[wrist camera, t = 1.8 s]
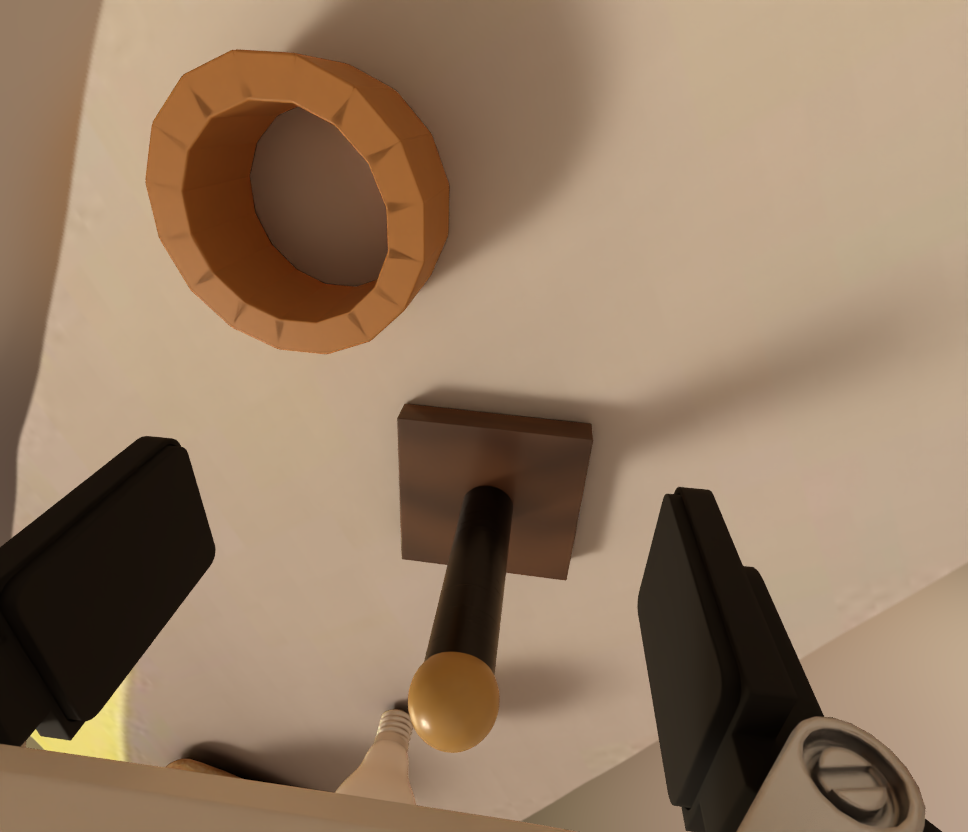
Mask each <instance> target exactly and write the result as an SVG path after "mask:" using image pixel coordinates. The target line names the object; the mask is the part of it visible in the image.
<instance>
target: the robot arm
mask: <svg viewBox="0 0 968 832" xmlns="http://www.w3.org/2000/svg"><path fill="white" fill-rule="evenodd" d="M214 556H215V544H214V541H213V537H212V534H211V530H210V527H209V524H208V520H207V517H206V513H205V510H204V507H203V503H202V500H201V496H200V493H199V489H198V486H197V483H196V479H195V476H194V472H193V469H192V465H191V462H190V459H189V455H188V452H187V450H186V449H185V448H183V447H181V445H180V443H179V442H178V441H177V440H175V439H172V438H161V437H151V436H144V437H141V438H139V439H137V440H136V441H135V442H134V443H132V444H131V445H130V446H128V447H127V448H126V449H125V450H123V451H122V452H121V453H120V454H118V455H117V456H116V457H114V458H113V459H112V460H111V461H109V462H108V463H107V464H106V465H104V466H103V467H102V468H100V469H99V470H98V471H97V472H95V473H94V474H93V475H92V476H90V477H89V478H88V479H86V480H85V481H84V482H83V483H81V484H80V485H79V486H78V487H76V488H75V489H74V490H72V491H71V492H70V493H69V494H67V495H66V496H65V497H64V498H62V499H61V500H60V501H58V502H57V503H56V504H55V505H53V506H52V507H51V508H50V509H48V510H47V511H46V512H45V513H43V514H42V515H41V516H39V517H38V518H37V519H36V520H34V521H33V522H32V523H31V524H29V525H28V526H27V527H25V528H24V529H23V530H22V531H20V532H19V533H18V534H17V535H15V536H14V537H13V538H11V539H10V540H9V541H8V542H6V543H5V544H4V545H3V546H1V547H0V832H578V831H572V830H566V829H560V828H555V827H549V826H543V825H538V824H532V823H526V822H520V821H515V820H508V819H502V818H495V817H489V816H482V815H476V814H469V813H463V812H456V811H450V810H443V809H437V808H430V807H424V806H418V805H411V804H405V803H398V802H392V801H385V800H379V799H372V798H366V797H359V796H353V795H346V794H340V793H333V792H326V791H320V790H313V789H306V788H299V787H293V786H286V785H279V784H273V783H266V782H259V781H253V780H246V779H239V778H232V777H226V776H219V775H212V774H205V773H199V772H192V771H185V770H178V769H172V768H165V767H158V766H151V765H144V764H137V763H130V762H123V761H116V760H109V759H102V758H95V757H88V756H81V755H74V754H67V753H60V752H53V751H46V750H39V749H32V748H26V740H27V739H28V737H29V736H30V735H31V734H32V733H33V731H34V730H35V729H36V730H37V731H38V733H39V734H40V736H44V737H51V738H57V739H64V740H72V738H73V737H74V736H75V734H76V733H77V732H78V730H79V729H80V728H81V727H82V725H83V724H84V723H85V721H88V720H91V719H92V718H94V717H95V716H96V715H97V714H98V713H99V712H100V711H101V709H102V708H103V707H104V705H105V704H106V703H107V701H108V700H109V699H110V697H111V696H112V695H113V693H114V692H115V691H116V690H117V688H118V687H119V686H120V684H121V683H122V682H123V680H124V679H125V678H126V676H127V675H128V674H129V672H130V671H131V670H132V668H133V667H134V666H135V664H136V663H137V662H138V660H139V659H140V658H141V657H142V655H143V654H144V653H145V651H146V650H147V649H148V647H149V646H150V645H151V643H152V642H153V641H154V639H155V638H156V637H157V635H158V634H159V633H160V631H161V630H162V629H163V627H164V626H165V625H166V624H167V622H168V621H169V620H170V618H171V617H172V616H173V614H174V613H175V612H176V610H177V609H178V608H179V606H180V605H181V604H182V602H183V601H184V600H185V598H186V597H187V596H188V594H189V593H190V592H191V590H192V589H193V588H194V587H195V585H196V584H197V583H198V581H199V580H200V579H201V577H202V576H203V575H204V573H205V572H206V571H207V569H208V568H209V567H210V565H211V564H212V562H213V559H214ZM638 616H639V622H640V628H641V634H642V640H643V646H644V652H645V658H646V664H647V670H648V676H649V682H650V688H651V694H652V700H653V706H654V712H655V718H656V724H657V730H658V736H659V742H660V748H661V754H662V759H663V766H664V772H665V778H666V784H667V790H668V795H669V799H670V802H671V803H672V805H674V806H681V807H682V812H683V817H684V822H685V828H686V831H691V832H942V831H940V830H939V829H938V828H936V827H935V826H934V825H933V824H931V823H930V822H929V821H928V820H926V819H925V805H924V802H923V799H922V795H921V792H920V790H919V787H918V785H917V784H916V782H915V781H914V779H913V777H912V775H911V774H910V772H909V771H908V769H907V768H906V766H905V765H904V764H903V763H902V762H901V761H900V760H899V759H898V757H897V756H896V755H895V754H894V753H893V752H892V751H891V750H890V749H889V748H888V747H887V746H885V745H884V744H883V743H882V742H880V741H879V740H878V739H876V738H875V737H874V736H873V735H871V734H870V733H868V732H866V731H864V730H862V729H861V728H859V727H857V726H855V725H853V724H851V723H848V722H845V721H842V720H839V719H836V718H833V717H824V715H823V713H822V711H821V708H820V706H819V704H818V702H817V700H816V697H815V695H814V693H813V691H812V689H811V686H810V684H809V682H808V679H807V677H806V675H805V673H804V670H803V668H802V666H801V664H800V661H799V659H798V657H797V655H796V652H795V650H794V648H793V646H792V643H791V641H790V639H789V637H788V635H787V632H786V630H785V628H784V626H783V623H782V621H781V619H780V617H779V614H778V612H777V610H776V608H775V605H774V603H773V601H772V599H771V596H770V594H769V592H768V590H767V587H766V585H765V583H764V581H763V579H762V577H761V575H760V573H759V572H758V571H757V570H756V569H755V568H754V567H746V566H743V565H742V563H741V560H740V558H739V555H738V553H737V551H736V548H735V546H734V543H733V541H732V538H731V536H730V534H729V531H728V529H727V526H726V524H725V522H724V519H723V517H722V514H721V512H720V510H719V507H718V505H717V502H716V500H715V498H714V495H713V493H712V492H711V491H710V490H705V489H694V488H684V487H678V488H677V489H676V490H675V492H674V494H665V496H664V498H663V502H662V506H661V509H660V513H659V517H658V521H657V525H656V529H655V533H654V537H653V540H652V544H651V548H650V552H649V556H648V560H647V564H646V568H645V571H644V575H643V579H642V583H641V587H640V591H639V595H638Z"/></svg>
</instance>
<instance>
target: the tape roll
mask: <svg viewBox="0 0 968 832" xmlns="http://www.w3.org/2000/svg"><path fill="white" fill-rule="evenodd" d="M297 106H299V107H301V108H303V109H305V110H306V111H308V112H310V113H312V114H314V115H316V116H318V117H320V118H321V119H323V120H325V121H327V122H329V123H331V124H333V125H334V126H336V127H337V128H338V130H339V131H340V132H341V133H342V134H343V135H344V136H345V138H346V139H347V140H348V141H349V142H350V143H351V144H352V146H353V147H354V148H355V149H356V150H357V151H358V152H359V154H360V155H361V156H362V157H363V158H364V159H365V160H366V162H367V163H368V164H369V167H370V169H371V172H372V174H373V176H374V179H375V181H376V184H377V186H378V189H379V191H380V194H381V196H382V199H383V201H384V204H385V206H386V213H387V241H388V253H387V255H386V258H385V261H384V263H383V266H382V269H381V271H380V274H379V277H378V279H377V280H375V281H372V282H369V283H366V284H363V285H360V286H357V287H353V286H343V285H332V284H325V283H323V282H321V281H319V280H317V279H315V278H313V277H311V276H309V275H307V274H305V273H303V272H301V271H299V270H297V269H296V268H295V267H294V266H293V265H292V264H291V263H290V262H289V261H288V260H287V259H286V258H285V257H284V256H283V255H282V254H281V253H280V252H279V251H278V250H277V249H276V248H275V247H274V246H273V245H272V244H271V243H270V241H269V239H268V237H267V235H266V233H265V231H264V229H263V227H262V225H261V223H260V221H259V219H258V217H257V215H256V213H255V208H254V202H253V195H252V189H251V182H250V171H251V167H252V162H253V158H254V153H255V148H256V144H257V142H258V140H259V139H260V138H261V136H262V135H263V134H264V132H265V131H266V130H267V128H268V127H269V126H270V124H271V123H272V122H273V120H274V119H275V118H276V117H277V115H280V114H282V113H284V112H286V111H289V110H291V109H293V108H295V107H297ZM145 183H146V187H147V191H148V195H149V199H150V203H151V207H152V211H153V215H154V219H155V223H156V227H157V231H158V235H159V238H160V240H161V242H162V244H163V245H164V247H165V249H166V250H167V252H168V254H169V255H170V257H171V259H172V260H173V262H174V263H175V265H176V267H177V268H178V270H179V272H180V273H181V275H182V277H183V278H184V280H185V282H186V283H187V285H188V287H189V288H190V290H191V291H192V292H193V293H194V294H195V295H197V296H198V297H199V298H200V299H201V300H202V301H203V302H204V303H205V304H206V305H208V306H209V307H210V308H211V309H212V310H213V311H214V312H215V313H216V314H217V315H218V316H220V317H221V318H222V319H223V320H224V321H225V322H226V323H227V324H228V325H229V326H231V327H233V328H234V329H236V330H239V331H241V332H243V333H245V334H247V335H249V336H251V337H253V338H256V339H258V340H260V341H262V342H264V343H266V344H268V345H270V346H272V347H275V348H277V349H280V350H290V351H300V352H309V353H319V354H330V353H333V352H336V351H339V350H343V349H346V348H349V347H353V346H356V345H359V344H363V343H366V342H369V341H371V340H372V339H373V338H375V337H376V336H377V335H378V334H379V333H380V332H381V331H382V330H383V329H384V328H386V327H387V326H388V325H389V324H390V323H391V322H392V321H393V320H394V319H396V318H397V317H398V316H399V315H400V314H401V313H402V312H403V311H404V310H405V309H406V308H407V306H408V305H409V304H410V302H411V301H412V300H413V298H414V297H415V296H416V294H417V293H418V292H419V290H420V289H421V288H422V286H423V285H424V284H425V282H426V281H427V280H428V278H429V277H430V276H431V274H432V272H433V269H434V267H435V265H436V263H437V260H438V258H439V256H440V253H441V251H442V249H443V246H444V244H445V242H446V239H447V237H448V229H449V183H448V180H447V177H446V174H445V171H444V168H443V165H442V162H441V160H440V157H439V154H438V151H437V148H436V145H435V142H434V139H433V137H432V134H431V133H430V131H429V130H428V129H427V128H426V126H425V125H424V124H423V123H422V122H421V120H420V119H419V118H418V117H417V115H416V114H415V113H414V112H413V111H412V109H411V108H410V107H409V106H408V104H407V103H406V102H405V101H404V100H403V98H402V97H401V96H400V95H399V93H398V92H397V91H395V90H394V89H393V88H391V87H389V86H387V85H386V84H384V83H382V82H380V81H378V80H377V79H375V78H373V77H371V76H369V75H368V74H366V73H364V72H362V71H360V70H359V69H357V68H355V67H353V66H351V65H349V64H346V63H341V62H336V61H331V60H326V59H322V58H317V57H312V56H307V55H302V54H297V53H288V52H271V51H254V50H237V49H236V50H231V51H229V52H227V53H225V54H223V55H221V56H219V57H217V58H215V59H213V60H211V61H209V62H207V63H205V64H203V65H201V66H199V67H197V68H195V69H193V70H191V71H189V72H187V73H185V74H184V75H183V76H182V77H181V78H180V80H179V82H178V83H177V85H176V86H175V88H174V89H173V91H172V92H171V94H170V96H169V97H168V99H167V100H166V102H165V103H164V105H163V107H162V108H161V110H160V111H159V113H158V114H157V116H156V118H155V119H154V121H153V124H152V128H151V137H150V145H149V154H148V163H147V171H146V182H145Z"/></svg>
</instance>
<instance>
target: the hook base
mask: <svg viewBox="0 0 968 832" xmlns="http://www.w3.org/2000/svg"><path fill="white" fill-rule="evenodd" d="M397 425H398V457H399V488H400V520H401V551H402V559H406V560H414V561H422V562H429V563H437V564H444V565H448V561H449V557H450V553H451V549H452V545H453V540H454V536H455V532H456V528H457V524H458V520H459V516H460V511H461V507H462V503H463V499H464V497H465V495H466V494H467V493H468V492H469V491H470V490H471V489H473V488H475V487H479V486H493V487H496V488H499V489H501V490H503V491H504V492H505V493H506V494H507V495H508V496H509V497H510V499H511V501H512V503H513V514H512V523H511V532H510V541H509V550H508V559H507V568H506V573H513V574H521V575H528V576H536V577H544V578H551V579H559V580H567V575H568V569H569V564H570V559H571V554H572V548H573V543H574V538H575V533H576V527H577V522H578V517H579V512H580V506H581V501H582V496H583V491H584V485H585V480H586V475H587V470H588V464H589V459H590V454H591V449H592V443H593V434H592V425H591V424H588V423H578V422H569V421H560V420H551V419H542V418H532V417H523V416H514V415H505V414H496V413H486V412H477V411H468V410H459V409H450V408H440V407H431V406H422V405H413V404H404V406H403V408H402V410H401V412H400V414H399V416H398V418H397Z"/></svg>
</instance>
